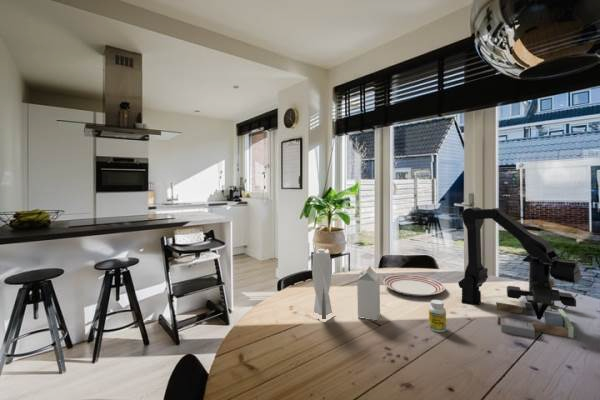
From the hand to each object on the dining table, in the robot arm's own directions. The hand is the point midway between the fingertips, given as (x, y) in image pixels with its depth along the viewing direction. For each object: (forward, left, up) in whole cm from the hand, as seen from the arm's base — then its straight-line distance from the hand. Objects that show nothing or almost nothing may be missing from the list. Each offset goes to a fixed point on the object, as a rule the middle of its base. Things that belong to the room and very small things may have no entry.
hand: (538, 319), depth 107 cm
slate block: (+4, 0, -1) cm, 4 cm away
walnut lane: (-2, 0, -1) cm, 3 cm away
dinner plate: (-45, +16, -2) cm, 48 cm away
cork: (+5, +20, -2) cm, 21 cm away
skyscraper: (-70, -30, -2) cm, 77 cm away
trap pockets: (-2, 0, -1) cm, 3 cm away
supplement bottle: (-30, -21, -2) cm, 37 cm away
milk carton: (-54, -22, -2) cm, 59 cm away
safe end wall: (+7, 0, -1) cm, 7 cm away
